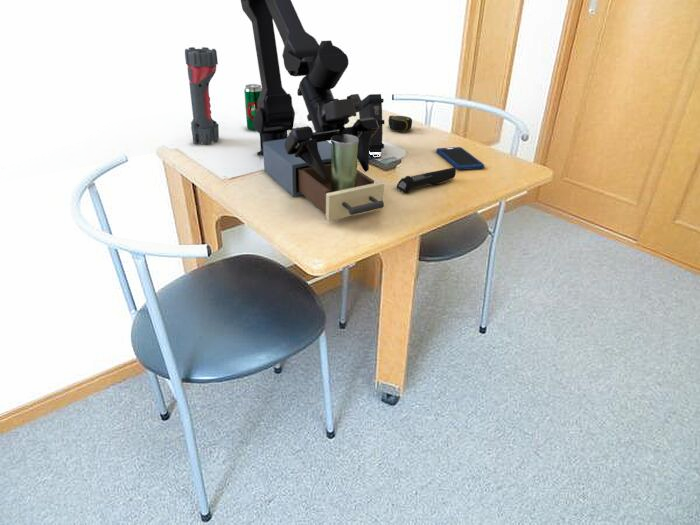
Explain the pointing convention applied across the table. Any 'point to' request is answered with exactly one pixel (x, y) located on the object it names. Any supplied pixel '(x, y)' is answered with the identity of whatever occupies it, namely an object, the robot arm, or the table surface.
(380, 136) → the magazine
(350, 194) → the drawer
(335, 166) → the tea tin
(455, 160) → the cell phone
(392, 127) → the tape measure
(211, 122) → the flashlight
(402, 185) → the electric trimmer
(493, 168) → the table surface
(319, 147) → the cabinet
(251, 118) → the soda can
